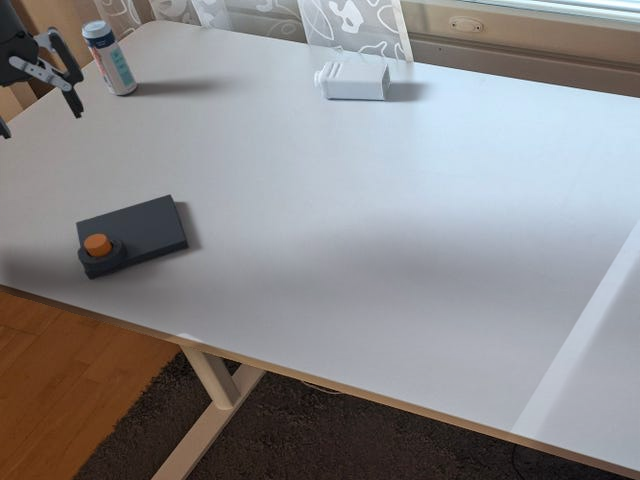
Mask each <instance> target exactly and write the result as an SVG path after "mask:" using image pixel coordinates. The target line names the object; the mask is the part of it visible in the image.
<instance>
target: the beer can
mask: <svg viewBox="0 0 640 480" xmlns="http://www.w3.org/2000/svg"><path fill="white" fill-rule="evenodd" d="M81 30H82V31H81V34H82V37H83V39H84V41H85V43H86V45H87V47H88V50H89V51H90V53H91V56H92V57H93V60H94V62H95V63H96V66H97V67H98V69H99V72H100V73H101V75H102V77H103V80H104V82H105V83H106V86H107V88H108V90H109V92H110V93H111V94H114V95H116V96H126V95H129V94H131V93H132V92H133V91H135V90H136V88H137V86H138V84H137V81H136V79H135V78H134V75H133V73H132V71H131V69H130V67H129V64H128V63H127V59H126V57H125V56H124V53H123V51H122V48H121V47H120V45H119V42H118V40H117V38H116V35H115V34H114V31H113V29H112V27H111V26H110V25H109V24H108V23H107V22H106V21H104V20H100V19H95V20H91V21H88V22H86V23H84V24H83V25H82V27H81Z"/></svg>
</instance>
